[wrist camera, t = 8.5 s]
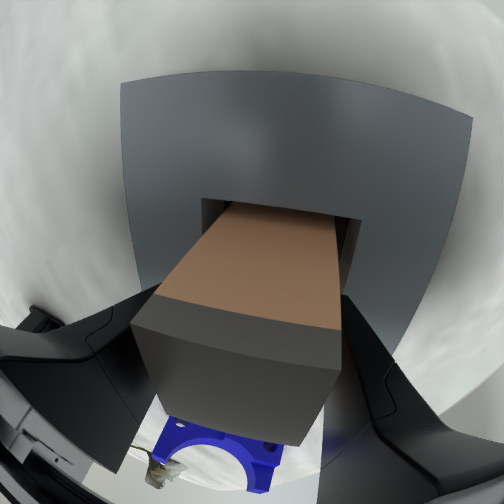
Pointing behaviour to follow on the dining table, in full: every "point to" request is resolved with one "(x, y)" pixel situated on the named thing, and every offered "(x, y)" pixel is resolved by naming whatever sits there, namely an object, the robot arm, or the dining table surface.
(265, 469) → the cable clip
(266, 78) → the socket plate
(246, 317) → the tan upright block
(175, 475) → the artificial flower
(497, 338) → the dining table surface
